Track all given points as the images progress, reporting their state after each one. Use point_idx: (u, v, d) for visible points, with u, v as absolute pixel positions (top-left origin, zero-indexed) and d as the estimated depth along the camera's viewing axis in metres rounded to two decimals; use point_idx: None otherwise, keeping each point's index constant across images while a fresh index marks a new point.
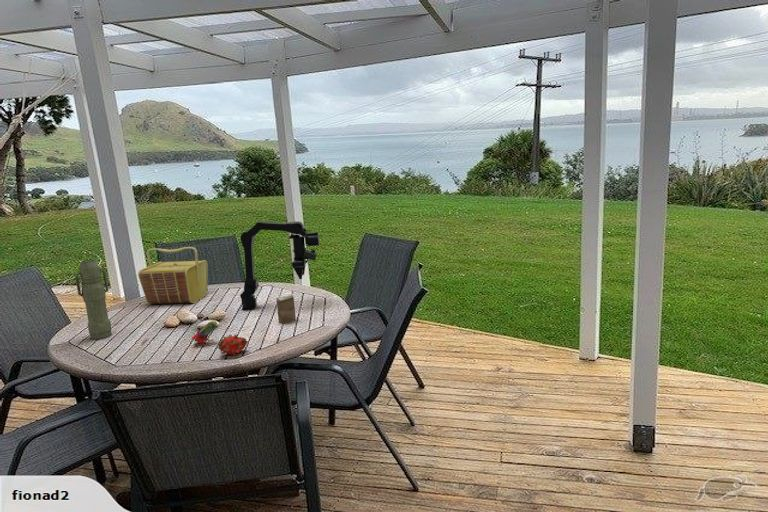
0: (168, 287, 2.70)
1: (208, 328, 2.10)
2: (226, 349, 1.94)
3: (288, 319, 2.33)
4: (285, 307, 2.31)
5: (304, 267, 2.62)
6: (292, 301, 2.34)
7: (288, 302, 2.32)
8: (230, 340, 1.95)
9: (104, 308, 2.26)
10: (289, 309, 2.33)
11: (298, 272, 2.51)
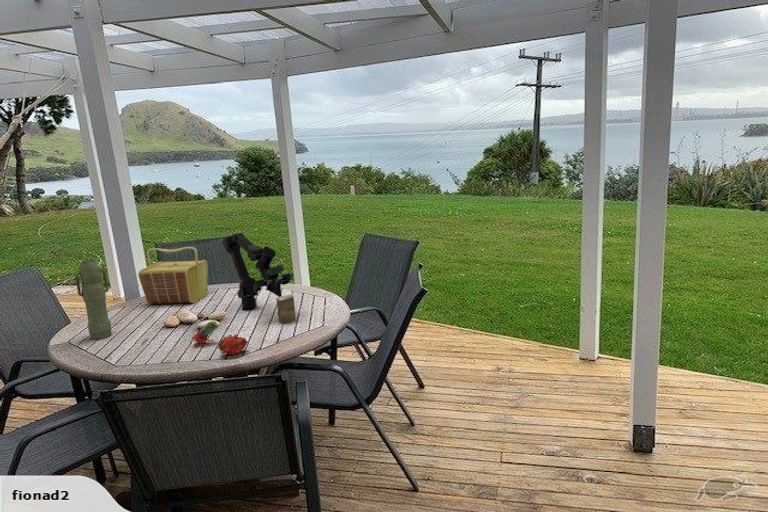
0: (168, 287, 2.70)
1: (208, 328, 2.10)
2: (226, 349, 1.94)
3: (288, 319, 2.33)
4: (285, 307, 2.31)
5: (278, 288, 2.36)
6: (292, 301, 2.34)
7: (288, 302, 2.32)
8: (230, 340, 1.95)
9: (104, 308, 2.26)
10: (289, 309, 2.33)
11: (274, 291, 2.36)
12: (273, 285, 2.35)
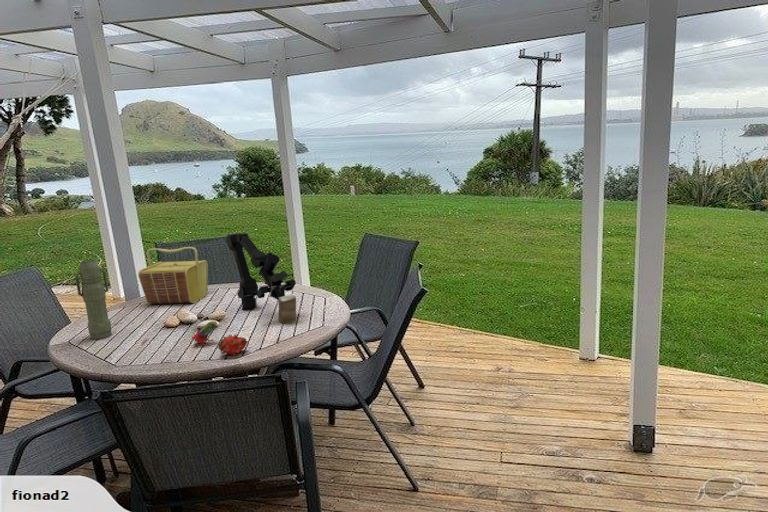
0: (168, 287, 2.70)
1: (208, 328, 2.10)
2: (226, 349, 1.94)
3: (288, 319, 2.33)
4: (286, 307, 2.30)
5: (282, 294, 2.35)
6: (294, 302, 2.33)
7: (290, 303, 2.31)
8: (230, 340, 1.95)
9: (104, 308, 2.26)
10: (290, 310, 2.32)
11: (278, 298, 2.35)
12: (277, 291, 2.33)
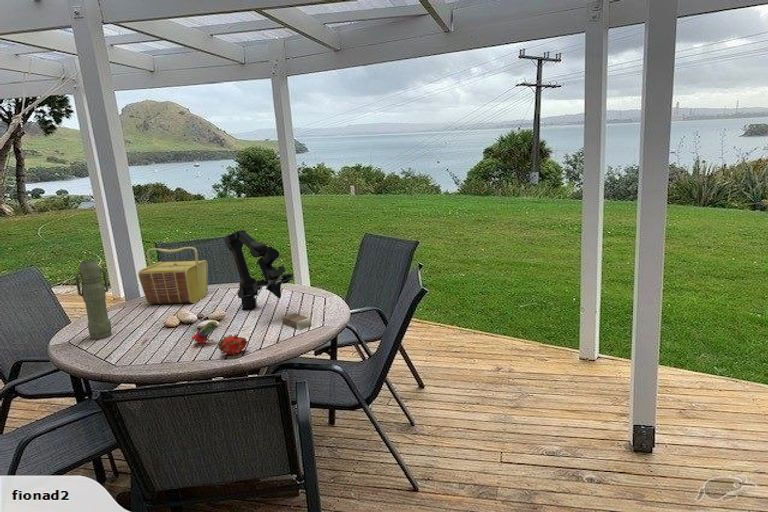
0: (168, 287, 2.70)
1: (208, 328, 2.10)
2: (226, 349, 1.94)
3: None
4: None
5: (278, 289, 2.36)
6: None
7: None
8: (230, 340, 1.95)
9: (104, 308, 2.26)
10: None
11: (273, 292, 2.37)
12: (273, 286, 2.35)
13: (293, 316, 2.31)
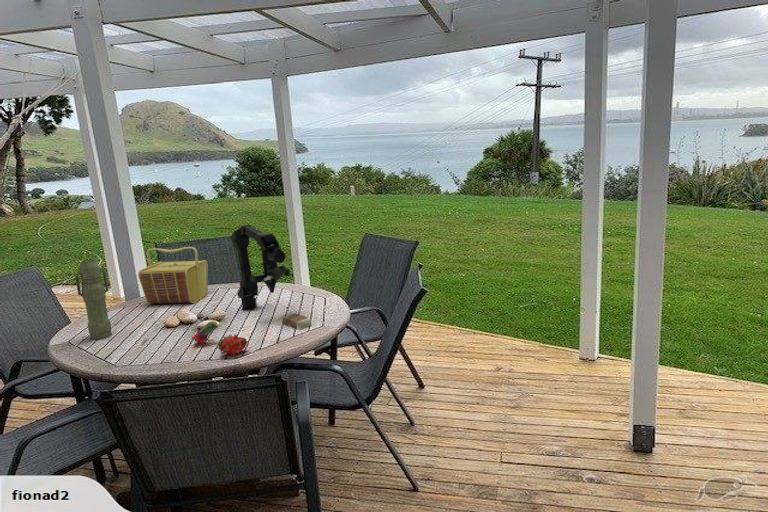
0: (168, 287, 2.70)
1: (208, 328, 2.10)
2: (226, 349, 1.94)
3: None
4: None
5: (273, 285, 2.39)
6: None
7: None
8: (230, 340, 1.95)
9: (104, 308, 2.26)
10: None
11: (268, 285, 2.39)
12: (270, 282, 2.37)
13: (293, 316, 2.31)
